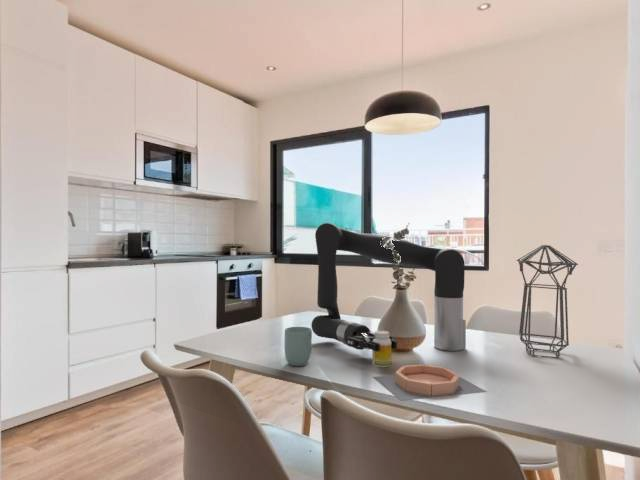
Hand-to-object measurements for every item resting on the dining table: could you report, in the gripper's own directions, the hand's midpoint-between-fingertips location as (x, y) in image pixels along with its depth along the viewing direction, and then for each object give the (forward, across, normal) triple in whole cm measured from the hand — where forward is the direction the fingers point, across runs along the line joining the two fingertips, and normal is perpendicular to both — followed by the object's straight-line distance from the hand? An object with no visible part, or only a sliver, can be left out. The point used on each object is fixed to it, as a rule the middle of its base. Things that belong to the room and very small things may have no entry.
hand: (387, 346), depth 112 cm
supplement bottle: (-3, 0, +6) cm, 7 cm away
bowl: (+16, -1, +6) cm, 17 cm away
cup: (-15, -20, +6) cm, 26 cm away
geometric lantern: (+13, +54, +6) cm, 56 cm away
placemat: (+16, -1, +6) cm, 17 cm away
